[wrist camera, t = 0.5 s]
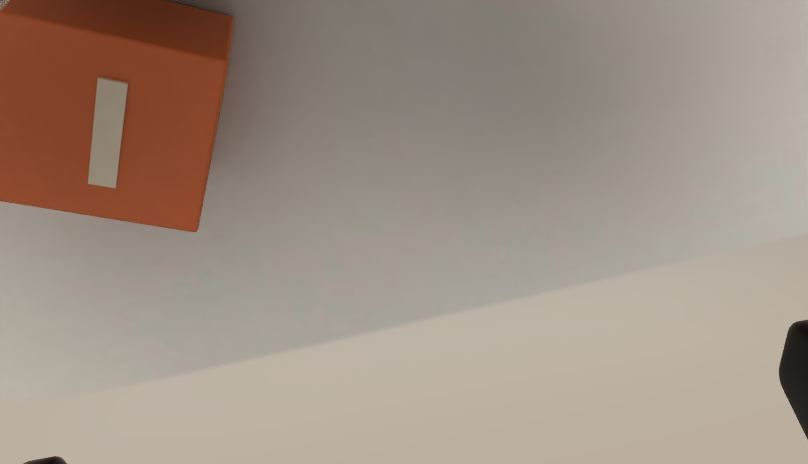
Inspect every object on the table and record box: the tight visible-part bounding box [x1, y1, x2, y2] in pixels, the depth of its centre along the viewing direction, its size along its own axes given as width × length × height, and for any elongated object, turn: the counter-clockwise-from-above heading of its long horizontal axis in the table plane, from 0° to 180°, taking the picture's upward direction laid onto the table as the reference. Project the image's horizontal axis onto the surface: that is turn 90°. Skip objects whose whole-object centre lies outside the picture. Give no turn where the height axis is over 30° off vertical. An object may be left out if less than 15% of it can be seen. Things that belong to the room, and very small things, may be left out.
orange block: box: [0, 0, 234, 232], centre depth 18 cm, size 4×4×3 cm
